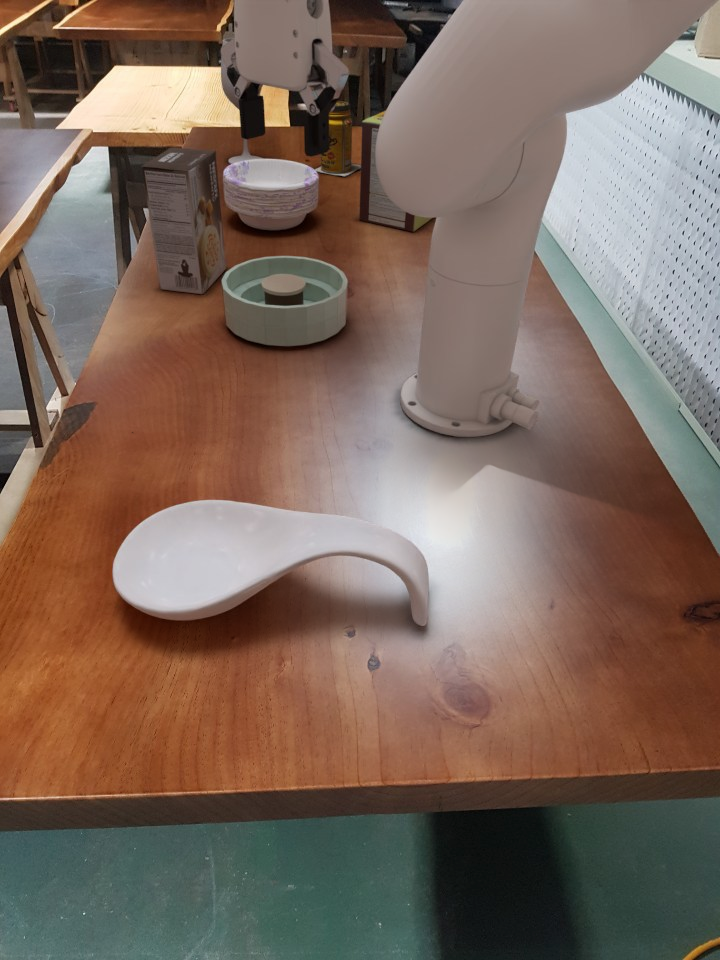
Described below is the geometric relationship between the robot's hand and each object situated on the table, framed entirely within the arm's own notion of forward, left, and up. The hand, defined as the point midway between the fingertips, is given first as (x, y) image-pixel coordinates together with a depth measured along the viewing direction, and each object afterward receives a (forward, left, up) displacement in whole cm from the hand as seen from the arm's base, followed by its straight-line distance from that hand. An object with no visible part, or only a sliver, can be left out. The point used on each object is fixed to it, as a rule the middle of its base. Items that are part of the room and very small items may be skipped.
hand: (284, 145), depth 78 cm
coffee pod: (0, +1, -20) cm, 20 cm away
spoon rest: (-32, +34, -21) cm, 51 cm away
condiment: (+39, -53, -21) cm, 69 cm away
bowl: (0, +1, -21) cm, 21 cm away
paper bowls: (+27, -23, -21) cm, 41 cm away
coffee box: (+18, +1, -21) cm, 27 cm away
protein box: (+14, -42, -21) cm, 49 cm away
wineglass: (+55, -43, -21) cm, 73 cm away
